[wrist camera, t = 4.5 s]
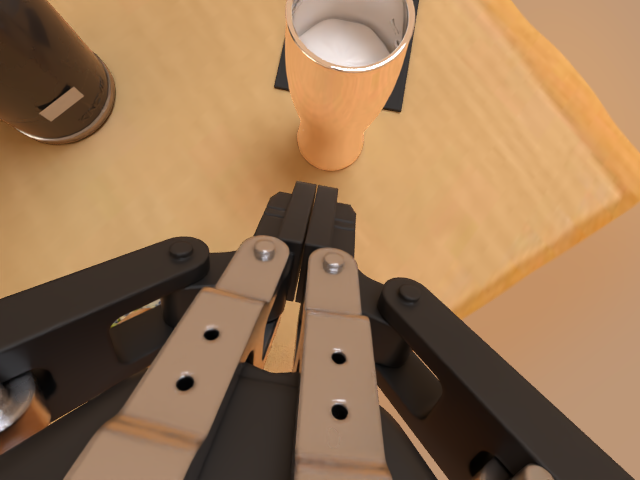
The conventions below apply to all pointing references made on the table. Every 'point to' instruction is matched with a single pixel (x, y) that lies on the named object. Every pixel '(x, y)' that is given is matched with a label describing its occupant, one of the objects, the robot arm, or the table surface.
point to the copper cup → (342, 71)
